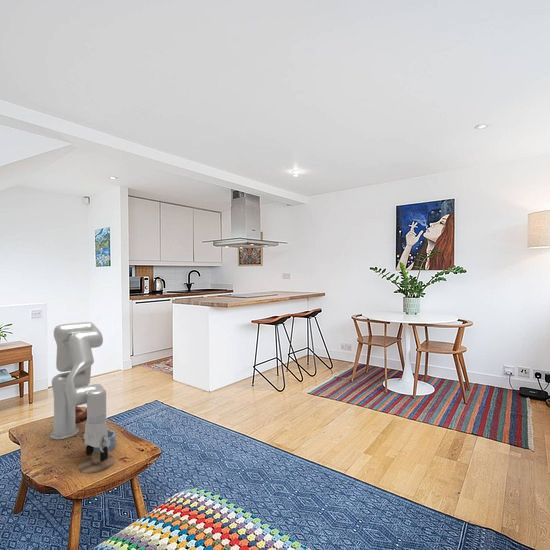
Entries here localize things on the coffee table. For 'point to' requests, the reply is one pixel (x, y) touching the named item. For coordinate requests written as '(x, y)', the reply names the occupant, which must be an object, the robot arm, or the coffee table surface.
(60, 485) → the coffee table surface
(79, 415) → the anatomical model
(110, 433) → the bowl
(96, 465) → the lid
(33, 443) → the coffee table surface
